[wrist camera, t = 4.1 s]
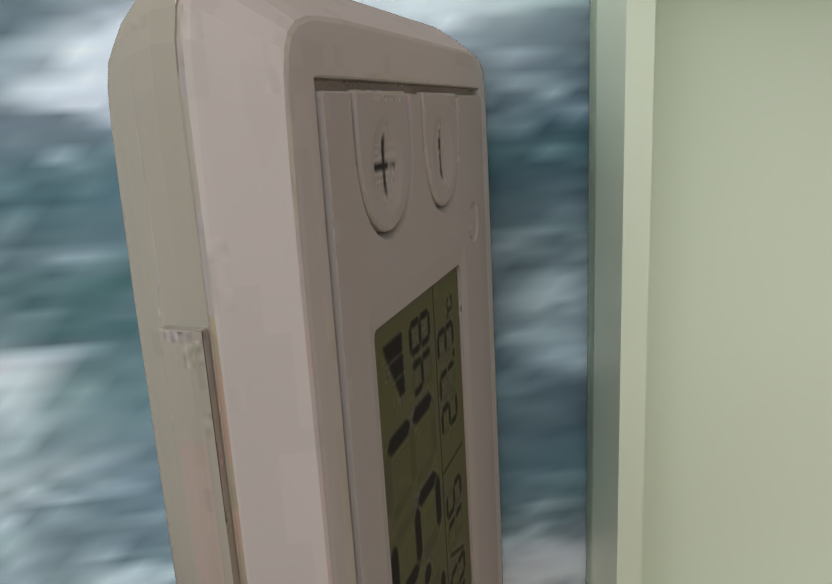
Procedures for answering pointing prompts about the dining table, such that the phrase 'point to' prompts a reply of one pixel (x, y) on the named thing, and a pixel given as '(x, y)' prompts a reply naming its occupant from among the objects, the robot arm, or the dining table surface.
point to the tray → (710, 292)
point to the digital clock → (312, 289)
